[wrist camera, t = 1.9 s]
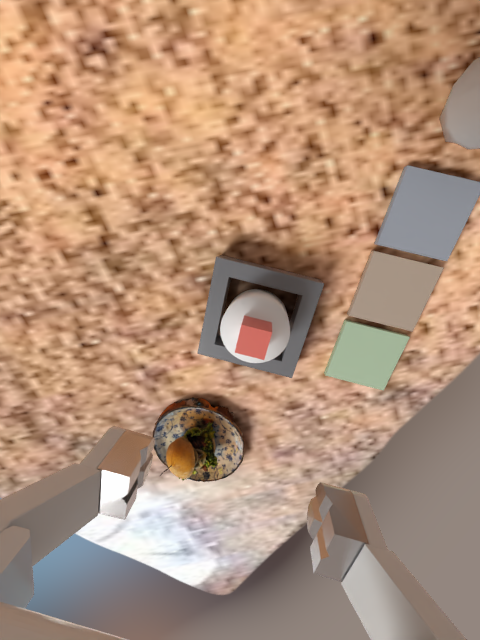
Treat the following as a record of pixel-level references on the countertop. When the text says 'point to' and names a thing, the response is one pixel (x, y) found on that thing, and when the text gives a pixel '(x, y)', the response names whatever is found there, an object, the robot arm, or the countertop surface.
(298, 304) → the button housing
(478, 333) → the countertop surface
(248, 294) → the dome
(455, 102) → the salt shaker
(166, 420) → the bowl of food
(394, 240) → the track
